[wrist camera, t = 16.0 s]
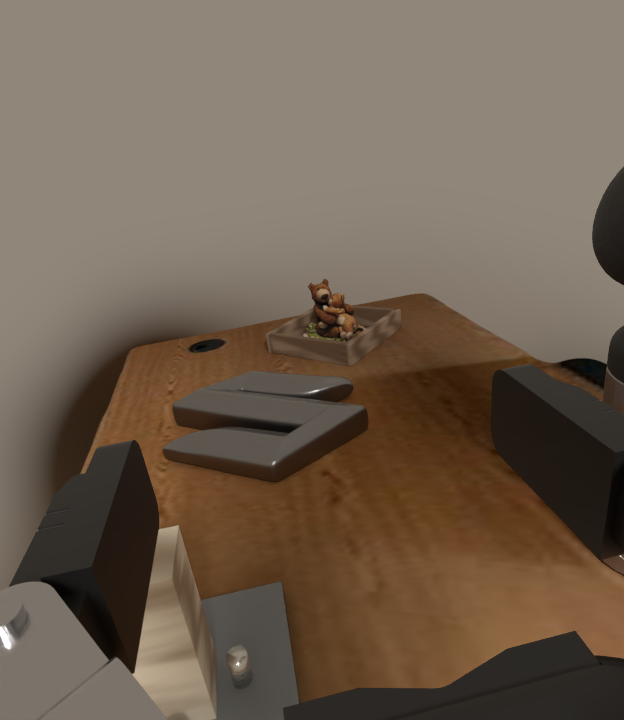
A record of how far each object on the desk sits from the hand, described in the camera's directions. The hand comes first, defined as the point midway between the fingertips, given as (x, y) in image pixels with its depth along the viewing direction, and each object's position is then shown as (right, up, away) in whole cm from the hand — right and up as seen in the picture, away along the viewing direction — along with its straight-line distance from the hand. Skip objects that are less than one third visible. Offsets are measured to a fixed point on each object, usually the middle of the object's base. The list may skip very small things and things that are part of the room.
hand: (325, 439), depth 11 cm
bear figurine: (+5, +6, +90) cm, 91 cm away
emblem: (-7, -9, +60) cm, 61 cm away
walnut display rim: (+5, +6, +89) cm, 90 cm away
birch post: (-9, -22, +24) cm, 34 cm away
